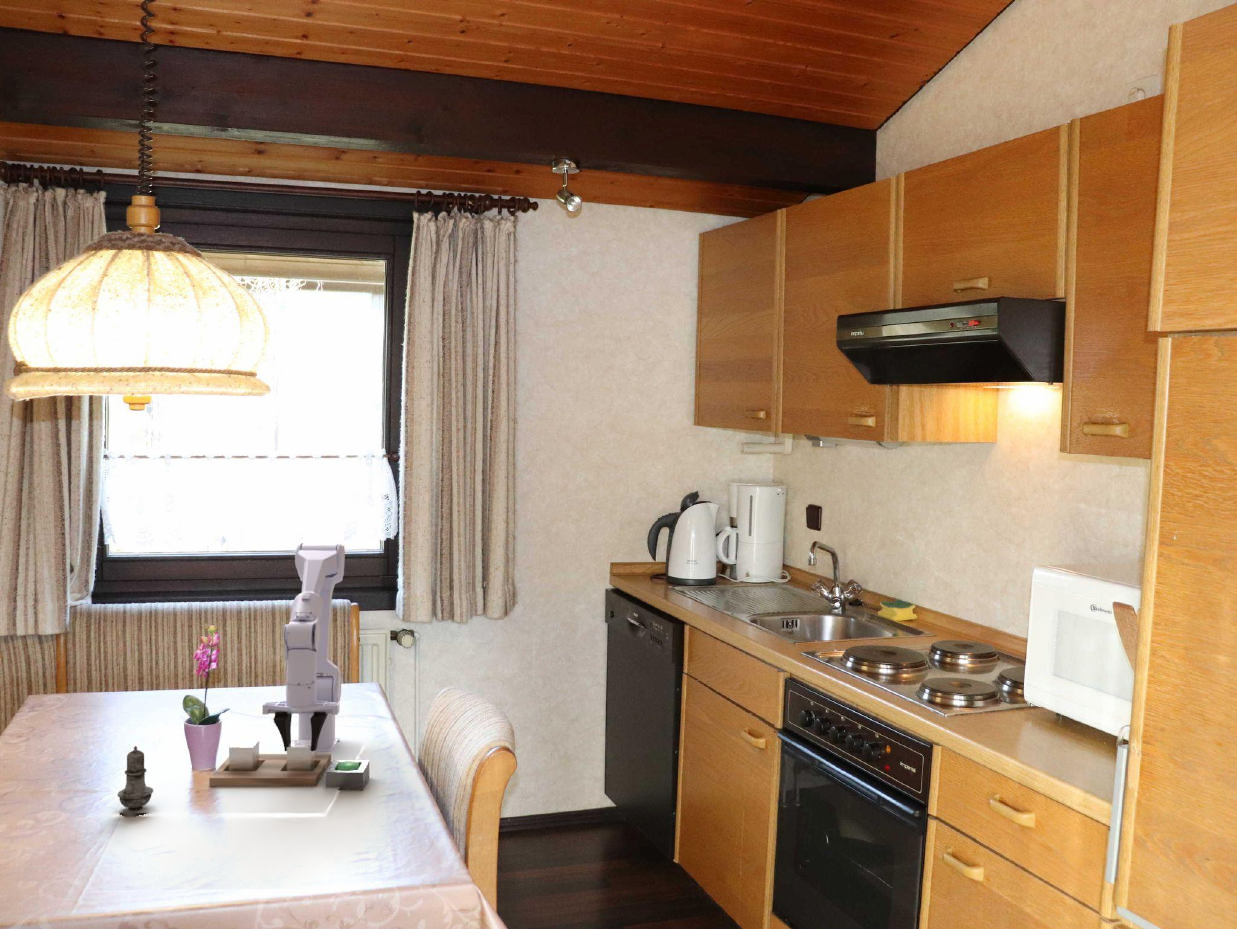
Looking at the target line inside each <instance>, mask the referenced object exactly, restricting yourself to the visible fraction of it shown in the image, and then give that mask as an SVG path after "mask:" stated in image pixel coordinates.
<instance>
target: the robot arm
mask: <svg viewBox="0 0 1237 929" xmlns="http://www.w3.org/2000/svg"><path fill="white" fill-rule="evenodd" d="M345 554H346V550H345V545H344V544H343V542H340V541H339V542H303V541H299V543H297V545H296V547H295V555H294V564H295V568H296V570H297V574H298V577H299V579H300V580H299V581H301V582H302V584H301V593H298V594H297V595H296V596H295V598H294V600H293V605H292V610H291V613H290V617H289V618H290V619H289V622H288V623H286V624H285V625H284V627H283V634H282V644H283V650H284V651H283V652H284V660H285V662H286V668H285V669H286V670H285V672H286V676H285V680H286V682H285V685H286V686H285V687H286V688H285V691H286V692H285V696H286V697H285V700H282V701H266V702H264V703H263V704H262V715H270V714H274V717H273V723H274V724H275V726H276V728H277V730H278V732H279V734H280V737H281V740H282V744H283V747H284V748H283V749H284V752H287V746H288V745H289V744H290V743H291V741H292V732H291V731H292V730H291V728H292V717H293V714H295V715H297V714H298V740H311V751H315V752H330V751H331V752H332V750H333V748H334V747H335V745H336V744H337V743H338V742H339V741H340V737H339V736H336V715H338V714H339V713H340V701H341V696H342V679H341V677H342V676H341V675H342V672H341V669H340V668H339V667H338V665H336V664H335V663H334V662H332V661H331V660H329V658H330V657H329V654H330V639H331V637H330V636H331V635H330V634H331V624H332V623H331V619H332V618H331V617H332V601H333V599H332V598H333V593H334V589H335V585H336V584H339V583H340V582H342V581H343V577H344V575H345V559H346V555H345Z"/></svg>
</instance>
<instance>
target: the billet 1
mask: <svg viewBox="0 0 1237 929" xmlns="http://www.w3.org/2000/svg"><path fill="white" fill-rule="evenodd" d="M259 754H260V740H259V739H236V740H235V741H234V742H232V744H230V746H229V747H228V757H229V771H257V770H258V769H259Z"/></svg>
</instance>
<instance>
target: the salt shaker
mask: <svg viewBox="0 0 1237 929" xmlns="http://www.w3.org/2000/svg"><path fill="white" fill-rule="evenodd" d="M146 772H147V768H145V753H144V752H143V751H141V750H139V749H138V746H137V745H135V746H134V747H133V750H131V751H130V752H128V754H127V755H126V770H125V771H124V774H125V775H126V776H125V777H126V780H125V781H126V783H125V787H124V789H121V790H119V791H118V792H117V797H118V798H119V802H120V804H121V805H122V806H123V807H125V808H127V809H128V810H129V811H132V812H119V813H120V814H119V816H121V815H122V816H121V817H123V816H124V818H137V817H136V816H138V817H140V816H139V815H142V816H145V815H147V814H146V813H147V812H134V811H140V810H141V809H143V807H144V806H146V805H147V804H148V803H149V802H150V800H151V798H152V794H153V792H154V788H152V786H151V787H150V786H147V785H146V781H145V776H146ZM144 814H145V815H144Z"/></svg>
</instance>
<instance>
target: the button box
mask: <svg viewBox="0 0 1237 929" xmlns="http://www.w3.org/2000/svg"><path fill="white" fill-rule="evenodd" d="M345 761H355V762H358V763H359V769H358V770H338V764H339V763H341V762H345ZM369 779H370V759H365V760H364V759H362V760H361V759H353V760H352V759H350V760H349V759H348V760H347V759H342V760H341V759H333V761H331V763H330V765H329V766H328V768H327V770H326V771H325V788H337V791H364V789H365V787H366V785H367V783H368V781H369Z"/></svg>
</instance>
